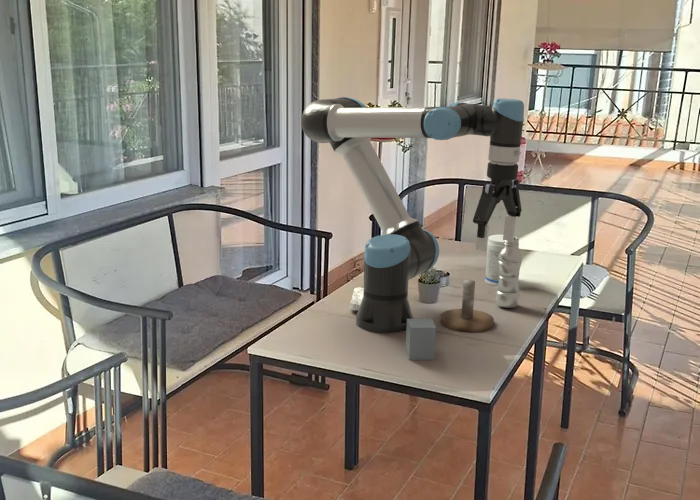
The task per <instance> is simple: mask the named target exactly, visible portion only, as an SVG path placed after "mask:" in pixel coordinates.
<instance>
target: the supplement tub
mask: <svg viewBox="0 0 700 500" xmlns="http://www.w3.org/2000/svg"><path fill="white" fill-rule="evenodd" d="M515 237H516V236H515ZM516 238H518V237H516ZM504 242H505V240H503V234H493V235H492V234H491V235H488V242H487V251H486V260H485V273H484V274H485V277H484V281H485V283H486V284H487V285H489V286H493V287H497V288H498V282H499V262H498V255H499V253H500V251H501V250H502V249H503V248H504V247H505V245H504ZM518 243H519V245H518V246H517V248H518V249H519V248H520V247H519V246H520V241H518ZM519 250H520V249H519Z"/></svg>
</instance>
